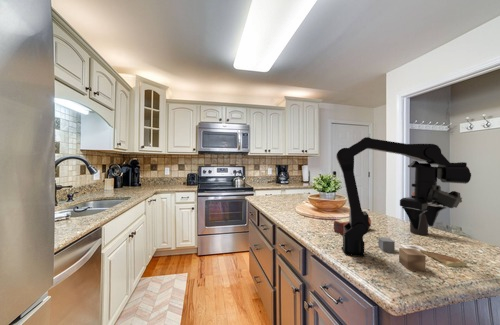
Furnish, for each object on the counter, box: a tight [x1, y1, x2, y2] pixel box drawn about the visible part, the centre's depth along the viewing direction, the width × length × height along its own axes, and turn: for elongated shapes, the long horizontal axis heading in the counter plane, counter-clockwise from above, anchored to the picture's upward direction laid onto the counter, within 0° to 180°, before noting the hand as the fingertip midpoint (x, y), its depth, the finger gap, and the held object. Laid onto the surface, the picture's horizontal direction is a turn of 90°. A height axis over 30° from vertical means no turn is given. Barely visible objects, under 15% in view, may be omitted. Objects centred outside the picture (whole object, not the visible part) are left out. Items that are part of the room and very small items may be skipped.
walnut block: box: [398, 247, 427, 272], centre depth 66 cm, size 5×5×5 cm
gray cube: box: [377, 237, 396, 253], centre depth 79 cm, size 4×4×4 cm
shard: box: [420, 250, 467, 268], centre depth 72 cm, size 11×8×2 cm
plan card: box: [399, 243, 428, 252], centre depth 80 cm, size 7×5×1 cm
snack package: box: [333, 217, 372, 235], centre depth 102 cm, size 21×7×7 cm, turn 117°
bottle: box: [409, 191, 429, 236], centre depth 99 cm, size 7×7×20 cm
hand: (423, 227), depth 69 cm, fingers open, 9 cm apart
